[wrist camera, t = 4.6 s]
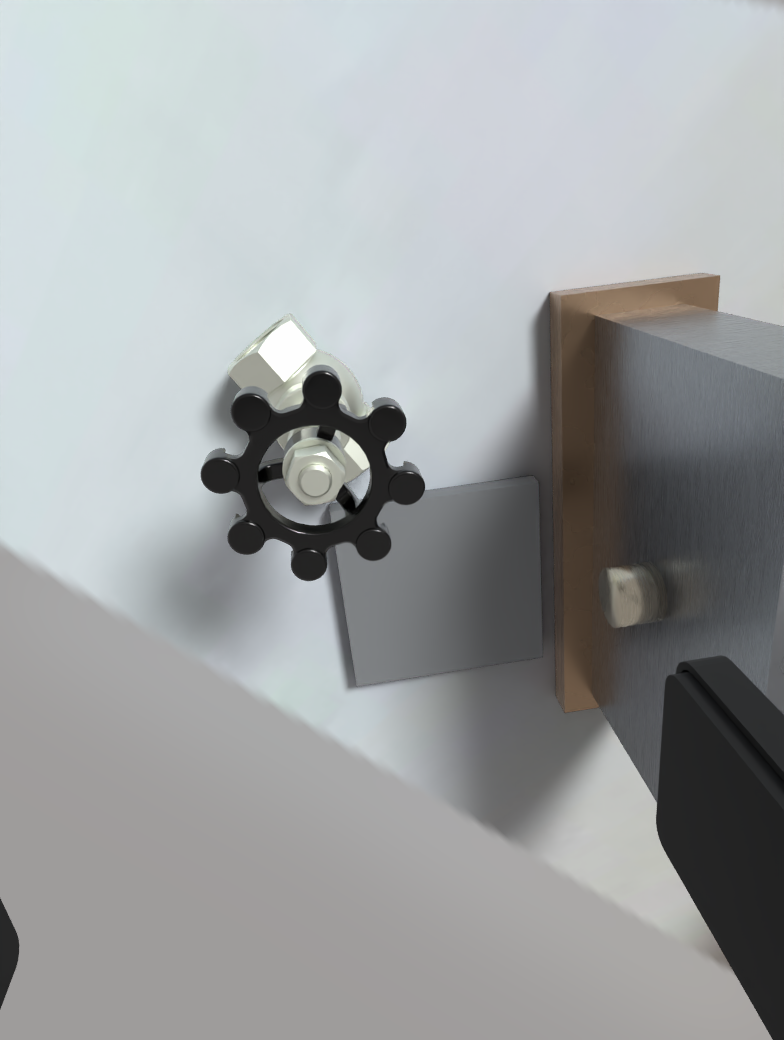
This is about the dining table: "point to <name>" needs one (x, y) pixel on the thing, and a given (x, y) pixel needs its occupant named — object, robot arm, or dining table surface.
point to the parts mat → (447, 583)
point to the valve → (309, 450)
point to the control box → (663, 498)
